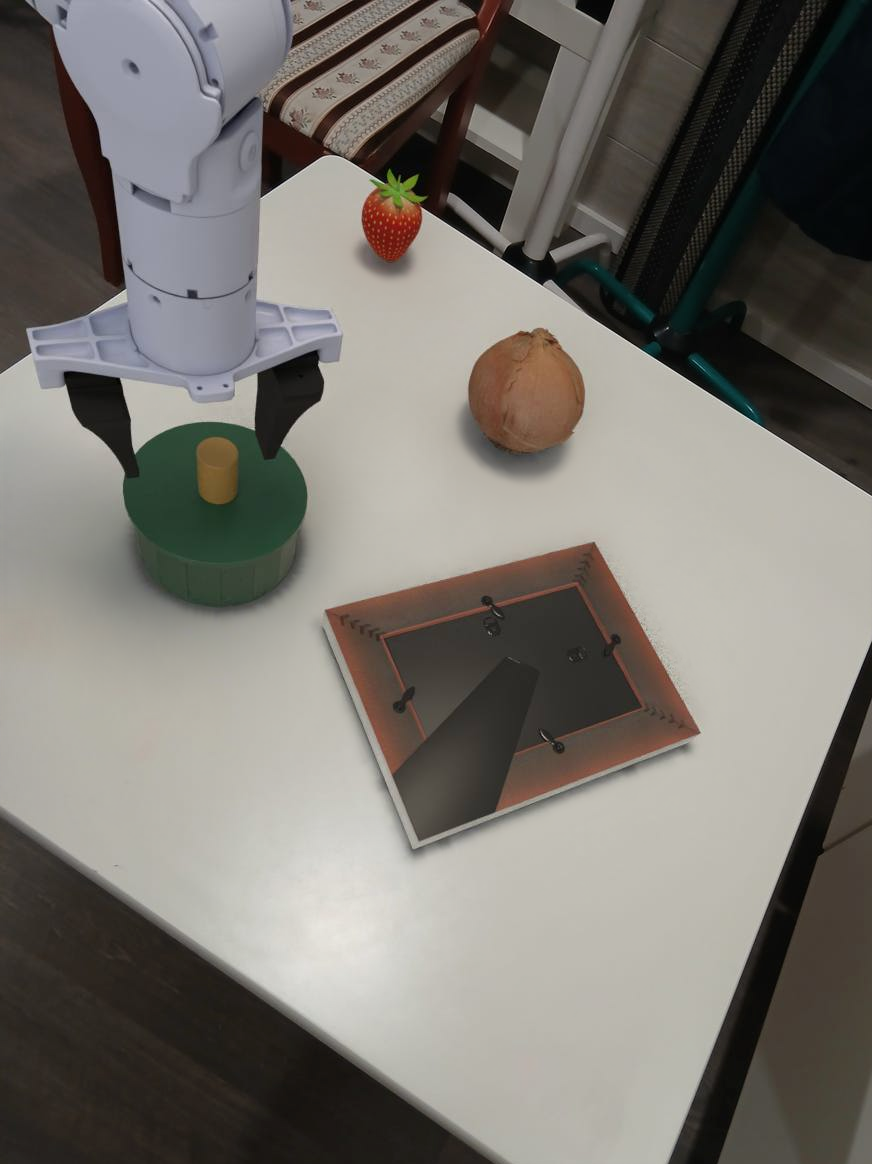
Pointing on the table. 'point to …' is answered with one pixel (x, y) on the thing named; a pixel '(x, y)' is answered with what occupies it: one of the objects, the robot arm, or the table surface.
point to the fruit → (392, 217)
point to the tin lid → (215, 495)
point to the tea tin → (216, 576)
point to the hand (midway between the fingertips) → (199, 455)
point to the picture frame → (504, 688)
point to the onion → (526, 392)
